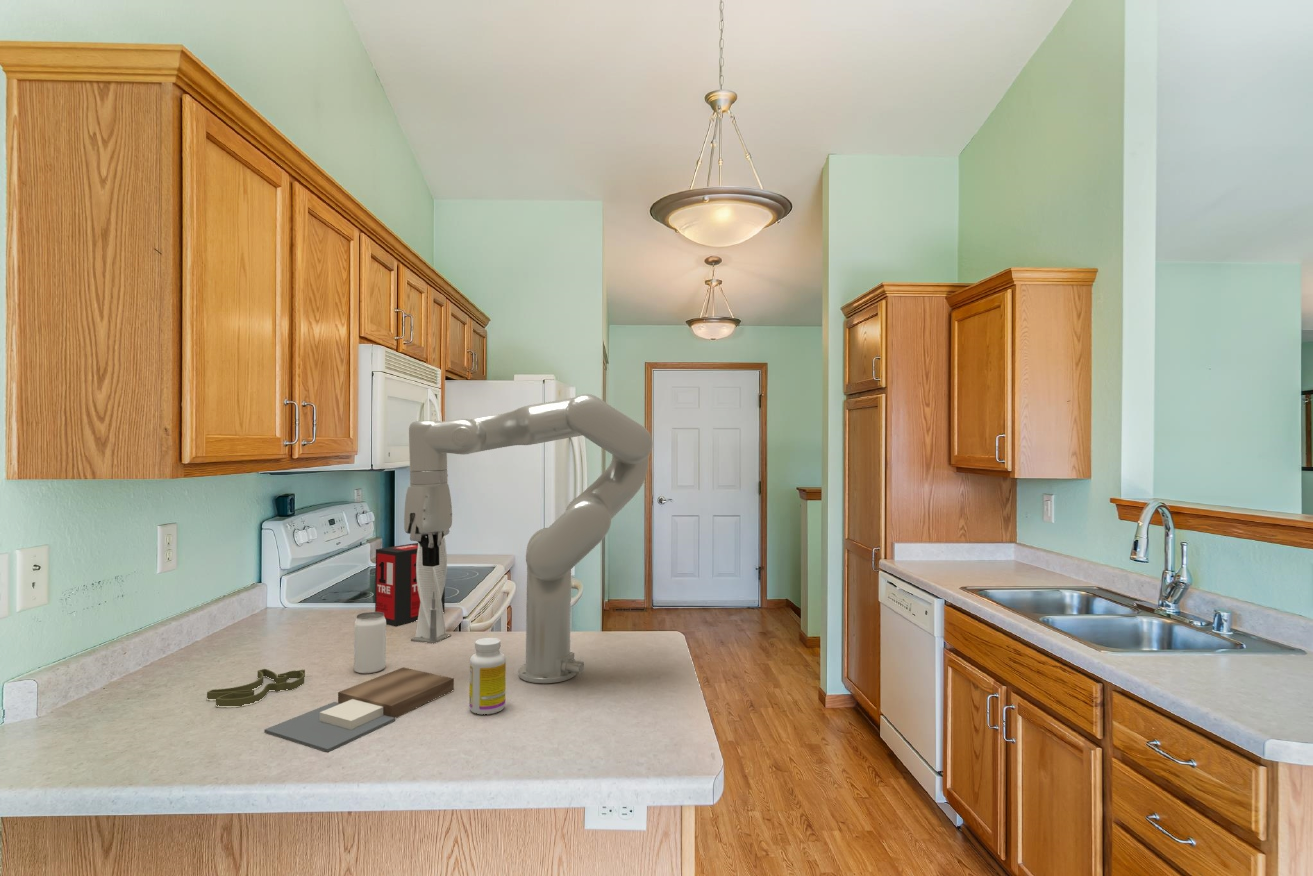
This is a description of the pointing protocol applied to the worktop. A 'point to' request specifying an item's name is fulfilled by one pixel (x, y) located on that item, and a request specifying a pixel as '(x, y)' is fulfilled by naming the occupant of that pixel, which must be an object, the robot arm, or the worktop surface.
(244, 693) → the cookie cutter
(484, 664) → the supplement bottle
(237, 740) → the worktop surface
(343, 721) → the tile
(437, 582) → the skyscraper
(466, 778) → the worktop surface
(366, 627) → the can
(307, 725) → the mat
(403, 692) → the brown wooden flat block
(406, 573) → the cleaning product box
